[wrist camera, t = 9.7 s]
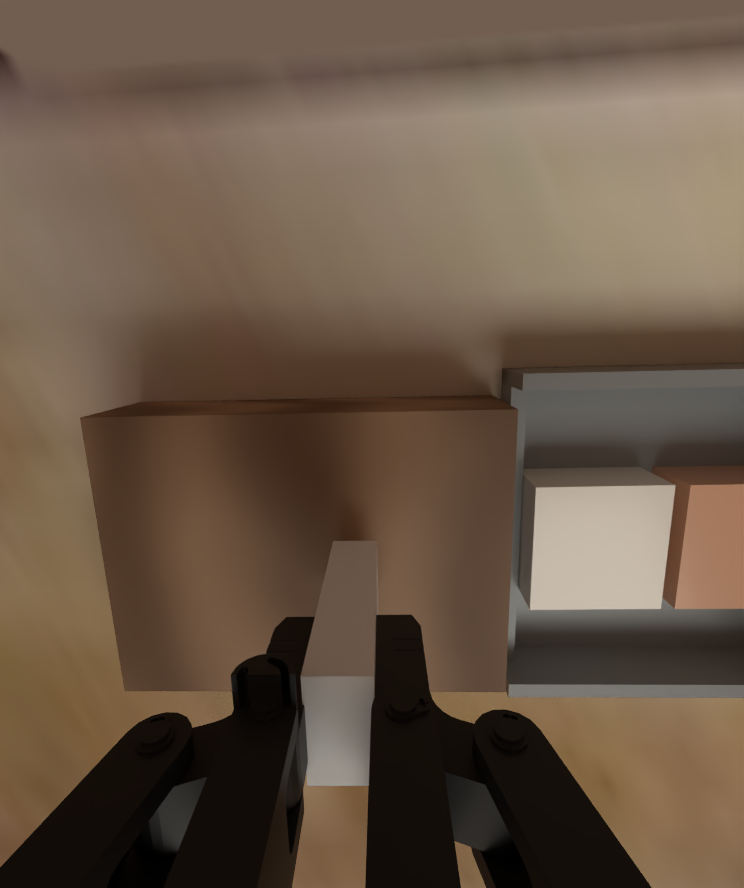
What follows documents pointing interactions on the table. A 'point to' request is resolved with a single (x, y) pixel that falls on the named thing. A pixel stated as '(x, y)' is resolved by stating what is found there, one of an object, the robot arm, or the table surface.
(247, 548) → the walnut board
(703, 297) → the table surface
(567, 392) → the tray
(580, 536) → the cream tile
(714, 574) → the terracotta tile
